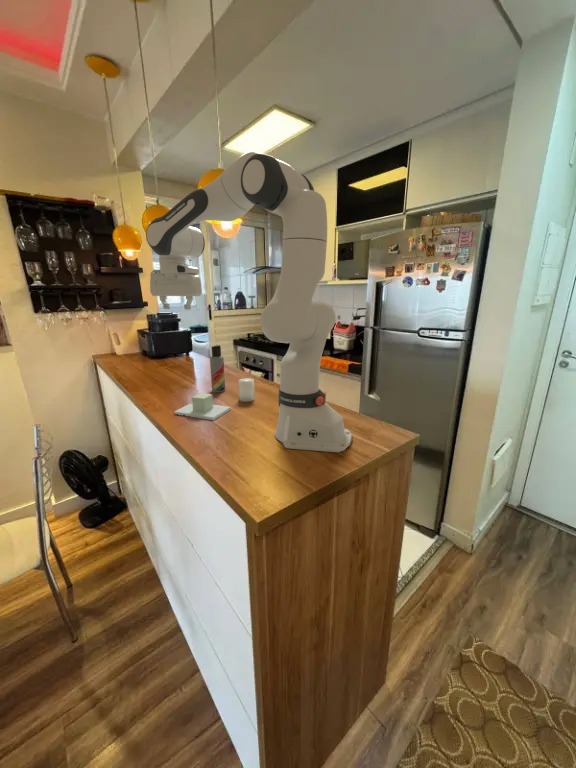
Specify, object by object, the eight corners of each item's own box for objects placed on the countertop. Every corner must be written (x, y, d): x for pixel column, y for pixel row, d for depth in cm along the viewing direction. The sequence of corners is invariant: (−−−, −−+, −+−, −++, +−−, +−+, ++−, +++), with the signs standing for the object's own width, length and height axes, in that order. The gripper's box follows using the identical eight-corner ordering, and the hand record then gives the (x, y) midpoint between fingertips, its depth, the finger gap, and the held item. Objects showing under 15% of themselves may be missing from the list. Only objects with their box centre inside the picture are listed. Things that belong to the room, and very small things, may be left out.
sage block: (213, 407, 111) (212, 394, 110) (205, 412, 106) (203, 398, 105) (201, 406, 113) (200, 393, 111) (192, 410, 108) (191, 397, 107)
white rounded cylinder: (257, 398, 125) (256, 379, 123) (250, 402, 120) (249, 382, 118) (243, 396, 127) (243, 377, 125) (236, 400, 122) (235, 381, 120)
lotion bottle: (222, 393, 131) (219, 346, 126) (209, 392, 132) (206, 346, 127) (227, 389, 137) (225, 344, 131) (215, 388, 138) (212, 344, 132)
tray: (230, 409, 112) (230, 406, 112) (213, 420, 102) (213, 417, 102) (194, 404, 118) (194, 401, 117) (174, 414, 108) (174, 411, 107)
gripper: (143, 268, 109) (148, 309, 113) (191, 267, 102) (194, 310, 106) (156, 270, 115) (160, 308, 119) (202, 268, 108) (205, 309, 112)
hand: (177, 309), depth 112 cm, fingers open, 8 cm apart
